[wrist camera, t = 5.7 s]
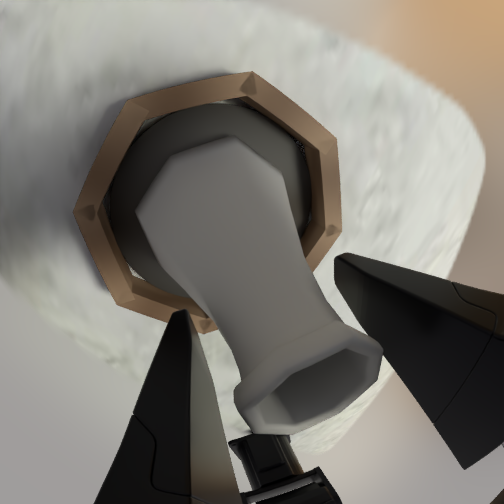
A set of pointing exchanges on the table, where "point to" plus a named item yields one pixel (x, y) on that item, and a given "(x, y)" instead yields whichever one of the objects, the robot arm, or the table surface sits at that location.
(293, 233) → the flask
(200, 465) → the robot arm
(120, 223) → the brown octagonal tray
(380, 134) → the table surface
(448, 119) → the table surface
